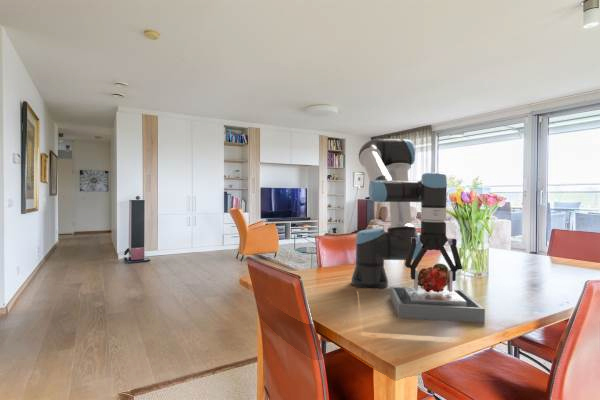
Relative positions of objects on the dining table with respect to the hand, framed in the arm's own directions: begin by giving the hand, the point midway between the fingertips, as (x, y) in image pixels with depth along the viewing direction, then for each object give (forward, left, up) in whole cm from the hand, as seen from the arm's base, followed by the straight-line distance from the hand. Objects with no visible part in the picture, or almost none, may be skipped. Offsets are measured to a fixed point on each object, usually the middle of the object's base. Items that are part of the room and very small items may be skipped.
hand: (432, 290), depth 109 cm
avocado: (+15, +45, -7) cm, 48 cm away
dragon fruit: (0, 0, 0) cm, 0 cm away
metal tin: (0, 0, -6) cm, 6 cm away
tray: (0, 0, -7) cm, 7 cm away
